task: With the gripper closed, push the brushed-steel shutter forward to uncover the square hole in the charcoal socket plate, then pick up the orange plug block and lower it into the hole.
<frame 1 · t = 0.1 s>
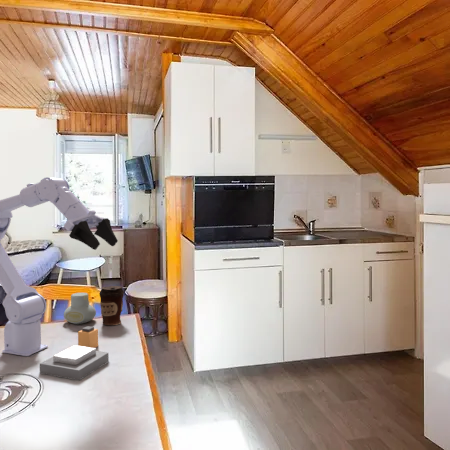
hand: (106, 245, 105), 32 cm above the table, tool tilted 50°, fingers open, 7 cm apart
coffee cup: (111, 324, 142), on the table
air freshener: (80, 322, 144), on the table
plug: (88, 347, 119), on the table
socket plate: (75, 367, 105), on the table
shutter: (75, 354, 105), point 3 cm above the table, slide at 0.0 cm
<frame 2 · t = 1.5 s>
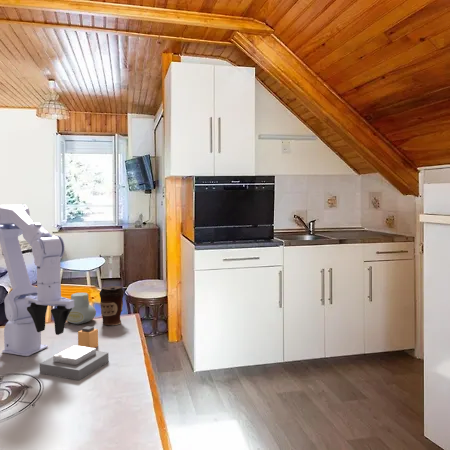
hand: (50, 332, 107), 8 cm above the table, tool pointing down, fingers open, 6 cm apart
nothing on the table moved.
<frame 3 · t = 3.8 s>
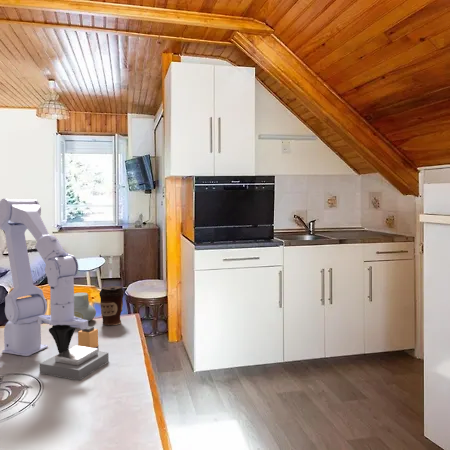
hand: (63, 352, 106), 3 cm above the table, tool pointing down, fingers closed
shutter: (77, 355, 104), point 3 cm above the table, slide at 0.6 cm, touching gripper
everything else where it was.
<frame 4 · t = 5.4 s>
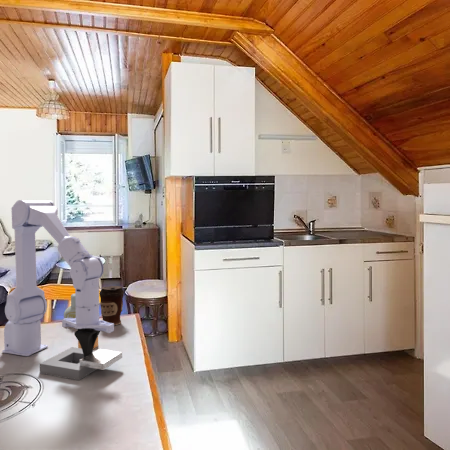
hand: (88, 356, 103), 3 cm above the table, tool pointing down, fingers closed
shutter: (101, 358, 102), point 3 cm above the table, slide at 8.1 cm, touching gripper
everything else where it was.
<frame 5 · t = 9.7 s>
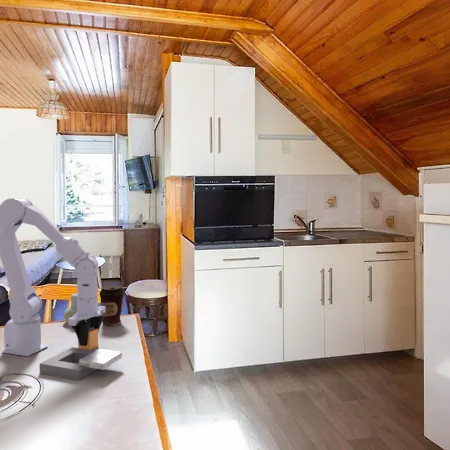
hand: (88, 342, 119), 1 cm above the table, tool pointing down, fingers closed on plug, 4 cm apart
plug: (88, 347, 119), on the table, touching gripper
shutter: (101, 358, 102), point 3 cm above the table, slide at 8.0 cm
everything else where it was.
when the fingers open (3 cm above the table, at t = 14.0 s): plug drops 2 cm, resting in socket plate.
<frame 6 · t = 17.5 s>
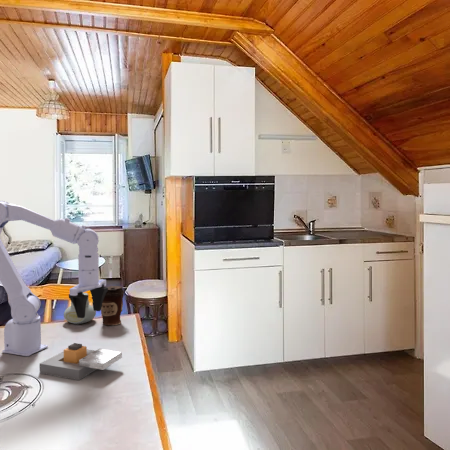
hand: (89, 314, 121), 9 cm above the table, tool pointing down, fingers open, 7 cm apart
plug: (75, 367, 105), resting in socket plate
everything else where it was.
at the end: shutter slide at 8.0 cm; plug 0.1 cm off-centre on the socket plate, point 0.0 cm above the socket plate's base; plug tilted 0° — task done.
